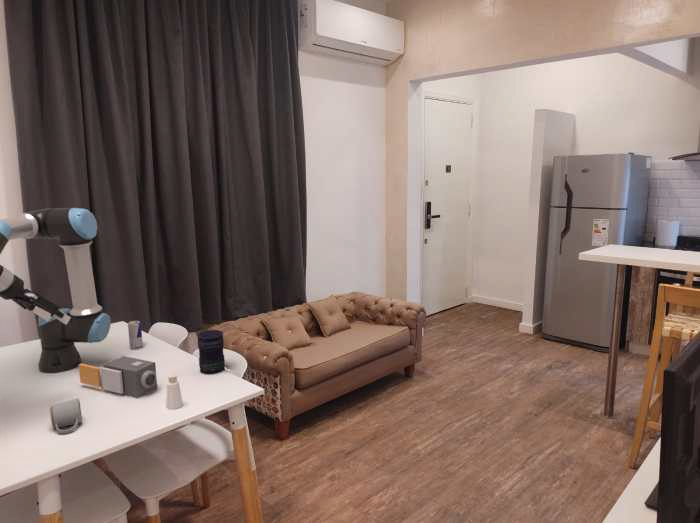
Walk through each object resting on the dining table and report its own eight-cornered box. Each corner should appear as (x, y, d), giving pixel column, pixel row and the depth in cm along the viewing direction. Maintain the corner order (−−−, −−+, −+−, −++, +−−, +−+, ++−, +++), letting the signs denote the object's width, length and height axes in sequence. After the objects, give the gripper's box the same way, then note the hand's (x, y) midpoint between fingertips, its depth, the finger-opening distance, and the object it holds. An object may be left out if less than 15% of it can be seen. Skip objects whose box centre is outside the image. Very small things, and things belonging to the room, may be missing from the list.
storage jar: (217, 363, 208) (215, 328, 205) (229, 369, 201) (227, 333, 198) (194, 369, 201) (192, 334, 198) (207, 376, 194) (204, 339, 191)
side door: (80, 384, 186) (78, 362, 184) (83, 383, 187) (81, 361, 185) (121, 394, 177) (118, 371, 175) (123, 393, 178) (121, 370, 177)
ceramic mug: (52, 422, 160) (49, 400, 158) (81, 416, 164) (79, 394, 162) (52, 438, 151) (49, 414, 149) (83, 431, 155) (80, 408, 153)
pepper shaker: (173, 411, 167) (171, 379, 165) (162, 407, 169) (160, 376, 167) (186, 404, 171) (184, 374, 169) (175, 400, 174) (173, 370, 172)
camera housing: (105, 390, 183) (102, 363, 181) (125, 380, 191) (123, 354, 189) (141, 399, 175) (139, 371, 173) (161, 389, 183) (159, 361, 181)
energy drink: (145, 346, 228) (143, 321, 225) (137, 350, 223) (134, 324, 221) (136, 345, 229) (133, 320, 227) (127, 349, 224) (124, 323, 222)
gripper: (-25, 290, 157) (31, 325, 174) (18, 297, 148) (73, 333, 165) (-10, 270, 161) (44, 306, 178) (34, 276, 152) (86, 313, 169)
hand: (58, 319), depth 172 cm, fingers open, 9 cm apart
